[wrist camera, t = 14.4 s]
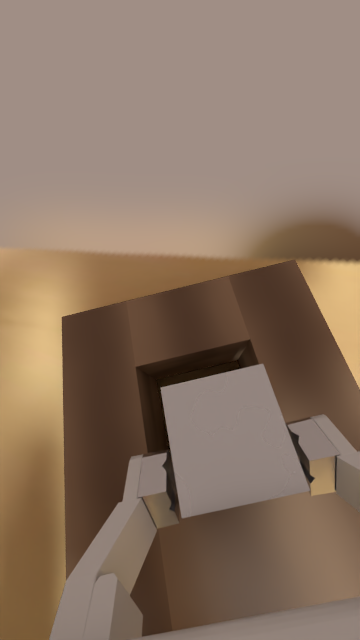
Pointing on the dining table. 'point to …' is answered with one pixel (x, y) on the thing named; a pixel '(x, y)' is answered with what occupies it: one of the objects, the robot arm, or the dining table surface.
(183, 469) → the peg
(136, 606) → the robot arm
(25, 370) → the dining table surface
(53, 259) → the dining table surface
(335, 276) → the dining table surface
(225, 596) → the post socket
